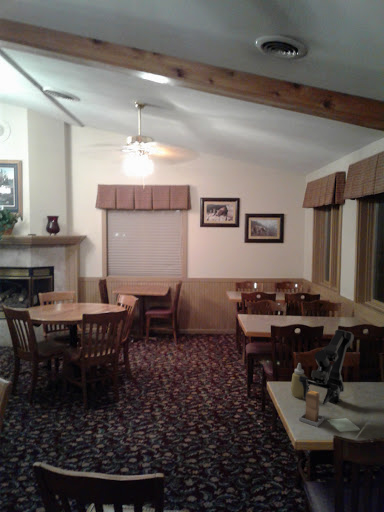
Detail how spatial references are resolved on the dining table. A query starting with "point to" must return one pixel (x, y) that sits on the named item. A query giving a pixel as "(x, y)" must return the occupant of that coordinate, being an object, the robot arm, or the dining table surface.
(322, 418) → the grey square tray
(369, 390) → the dining table surface
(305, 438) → the dining table surface
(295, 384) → the squeeze bottle
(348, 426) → the sage pad
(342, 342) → the robot arm
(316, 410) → the walnut box
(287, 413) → the dining table surface
